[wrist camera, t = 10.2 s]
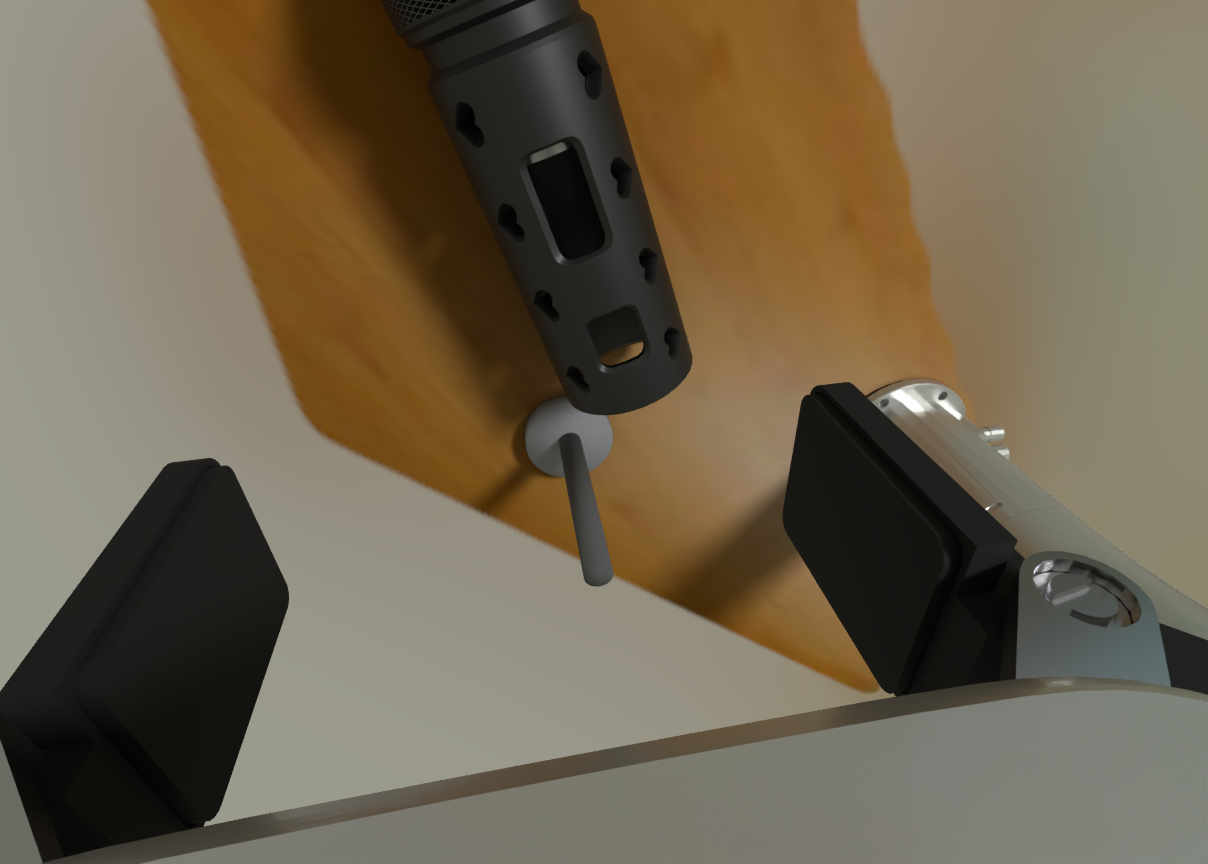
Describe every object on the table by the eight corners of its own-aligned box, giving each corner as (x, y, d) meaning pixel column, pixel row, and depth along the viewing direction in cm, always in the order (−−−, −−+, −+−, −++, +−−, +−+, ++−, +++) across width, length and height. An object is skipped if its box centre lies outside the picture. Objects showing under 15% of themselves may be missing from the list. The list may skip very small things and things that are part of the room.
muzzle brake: (556, 364, 46) (572, 438, 38) (351, -94, 30) (301, -143, 22) (672, 318, 46) (716, 383, 37) (526, -171, 30) (545, -252, 21)
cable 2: (608, 390, 48) (656, 524, 35) (610, 460, 52) (654, 605, 39) (520, 400, 47) (535, 541, 34) (529, 471, 51) (546, 623, 38)
